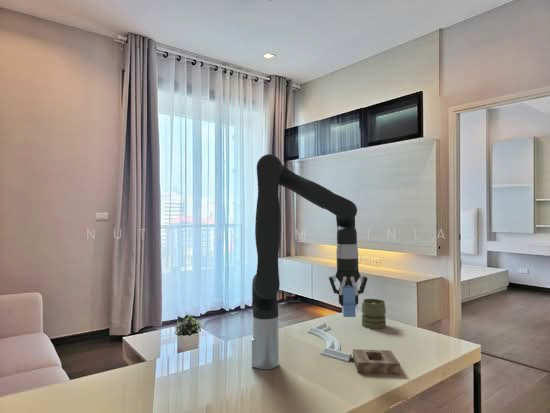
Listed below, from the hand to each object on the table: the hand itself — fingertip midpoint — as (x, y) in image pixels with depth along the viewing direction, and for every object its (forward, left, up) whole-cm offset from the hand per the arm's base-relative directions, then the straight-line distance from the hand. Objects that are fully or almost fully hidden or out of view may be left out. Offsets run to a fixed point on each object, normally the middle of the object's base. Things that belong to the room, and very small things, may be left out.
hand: (348, 305), depth 122 cm
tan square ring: (+10, +2, -22) cm, 24 cm away
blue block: (0, 0, -3) cm, 3 cm away
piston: (+19, +50, -22) cm, 58 cm away
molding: (-4, +26, -23) cm, 35 cm away
